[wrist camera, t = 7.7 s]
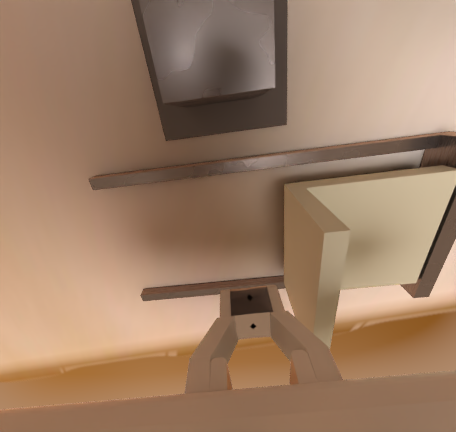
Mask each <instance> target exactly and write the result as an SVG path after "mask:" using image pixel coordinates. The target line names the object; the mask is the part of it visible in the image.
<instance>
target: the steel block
mask: <svg viewBox="0 0 456 432" xmlns="http://www.w3.org/2000/svg"><path fill="white" fill-rule="evenodd" d="M139 4H140V8H141V12H142V16H143V21H144V25H145V29H146V33H147V38H148V42H149V46H150V50H151V55H152V59H153V63H154V67H155V72H156V76H157V80H158V84H159V89H160V93H161V97H162V101H163V104H168V105H174V106H179V107H185V108H187V107H194V106H201V105H208V104H215V103H222V102H229V101H236V100H243V99H250V98H257V97H260V96H261V95H263V94H265V93H267V92H268V91H270V90H272V89H274V88H275V32H274V0H139Z"/></svg>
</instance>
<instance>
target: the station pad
mask: <svg viewBox="0 0 456 432" xmlns="http://www.w3.org/2000/svg"><path fill="white" fill-rule="evenodd" d="M131 1H132V5H133V9H134V14H135V18H136V22H137V26H138V30H139V34H140V38H141V42H142V46H143V50H144V54H145V58H146V62H147V66H148V70H149V74H150V78H151V82H152V86H153V90H154V94H155V98H156V102H157V106H158V110H159V114H160V118H161V122H162V126H163V130H164V135H165V139H166V141H168V140H175V139H183V138H190V137H198V136H205V135H213V134H220V133H228V132H235V131H243V130H250V129H258V128H265V127H273V126H280V125H287V0H274V32H275V88H274V89H272V90H270V91H268V92H267V93H265V94H263V95H261V96H260V97H257V98H250V99H243V100H236V101H229V102H222V103H215V104H208V105H201V106H194V107H187V108H185V107H179V106H174V105H168V104H163V101H162V97H161V93H160V89H159V84H158V80H157V76H156V72H155V67H154V63H153V59H152V55H151V50H150V46H149V42H148V38H147V33H146V29H145V25H144V21H143V16H142V12H141V8H140V4H139V0H131Z"/></svg>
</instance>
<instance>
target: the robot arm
mask: <svg viewBox="0 0 456 432" xmlns="http://www.w3.org/2000/svg"><path fill="white" fill-rule="evenodd" d="M256 337H271V338H272V339H273V340H274V342H275V343H276V344H277V345H278V347H279V348H280V349H281V350H282V352H283V353H284V354H285V356H286V357H287V358H288V359H289V360H290V362H291V364H290V365H291V366H290V385H280V386H268V387H256V388H246V389H234V390H232V384H231V379H230V375H229V370H228V365H227V364H228V362H229V360H230V357H231V355H232V353H233V351H234V348H235V346H236V344H237V342H238V340H239V339H247V338H256ZM0 432H456V370H454V371H443V372H431V373H419V374H408V375H397V376H385V377H373V378H362V379H350V380H343V379H342V377H341V374H340V372H339V370H338V368H337V366H336V363H335V361H334V359H333V357H332V354H331V353H330V350H329V348H328V346H327V345H326V344H324V343H323V342H322V341H321V340H320V339H319V338H318V337H317V336H315V335H314V334H313V333H312V332H311V331H310V330H309V329H307V328H306V327H305V326H304V325H303V324H302V323H301V322H300V321H298V320H297V319H296V318H295V317H294V316H293V315H292V314H291V313H289V312H288V311H285V310H284V307H283V304H282V301H281V298H280V295H279V291H278V288H277V286H276V285H268V286H258V287H250V288H240V289H229V290H221V292H220V318H217V319H216V320H215V322H214V323H213V325H212V326H211V328H210V329H209V331H208V332H207V334H206V335H205V337H204V338H203V340H202V341H201V343H200V344H199V346H198V347H197V349H196V350H195V352H194V353H193V355H192V356H191V358H190V359H189V367H188V374H187V381H186V389H185V394H176V395H165V396H153V397H141V398H129V399H119V400H108V401H95V402H83V403H72V404H61V405H50V406H37V407H26V408H14V409H2V410H0Z"/></svg>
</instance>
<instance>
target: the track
mask: <svg viewBox="0 0 456 432" xmlns="http://www.w3.org/2000/svg"><path fill="white" fill-rule="evenodd" d="M423 149H425V152H424V155H423V159H422V162H421V165H420V168H423V167H431V166H440V165H443V166H447V167H452V168H456V132H450V131H448V132H440V133H432V134H424V135H416V136H409V137H401V138H393V139H385V140H377V141H369V142H361V143H353V144H345V145H337V146H330V147H322V148H314V149H306V150H298V151H290V152H282V153H274V154H266V155H259V156H251V157H243V158H235V159H227V160H219V161H211V162H203V163H195V164H187V165H180V166H172V167H164V168H156V169H148V170H140V171H132V172H124V173H116V174H108V175H101V176H94V177H92V178H90V179H89V182H90V184H91V186H92V188H93V190H97V189H105V188H113V187H121V186H129V185H138V184H146V183H154V182H162V181H170V180H178V179H186V178H195V177H203V176H211V175H219V174H227V173H235V172H243V171H252V170H260V169H268V168H276V167H284V166H292V165H300V164H309V163H317V162H325V161H333V160H341V159H349V158H357V157H366V156H374V155H382V154H390V153H398V152H406V151H414V150H423ZM455 239H456V185H455V188H454V190H453V193H452V195H451V198H450V200H449V203H448V205H447V208H446V210H445V212H444V215H443V217H442V220H441V222H440V225H439V227H438V230H437V232H436V235H435V237H434V240H433V242H432V245H431V247H430V250H429V252H428V255H427V257H426V260H425V262H424V264H423V267H422V269H421V272H420V274H419V277H418V279H417V282H416V283H411V284H400V285H401V286H402V287H403V288H404V289H405V290H406V291H407V292H408V293H409V294H410V295H411V296H412V297H413V298H419V297H429V295H430V293H431V291H432V289H433V286H434V284H435V282H436V280H437V278H438V276H439V273H440V271H441V269H442V267H443V265H444V263H445V260H446V258H447V256H448V254H449V252H450V250H451V247H452V245H453V243H454V241H455ZM268 285H276V286H277V288H278V289H283V288H285V285H284V276H277V277H266V278H255V279H245V280H234V281H223V282H213V283H202V284H191V285H181V286H170V287H159V288H149V289H143V291H142V293H141V297H142V300H143V301H150V300H161V299H172V298H183V297H194V296H205V295H217V294H220V292H221V290H229V289H240V288H250V287H258V286H268Z"/></svg>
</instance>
